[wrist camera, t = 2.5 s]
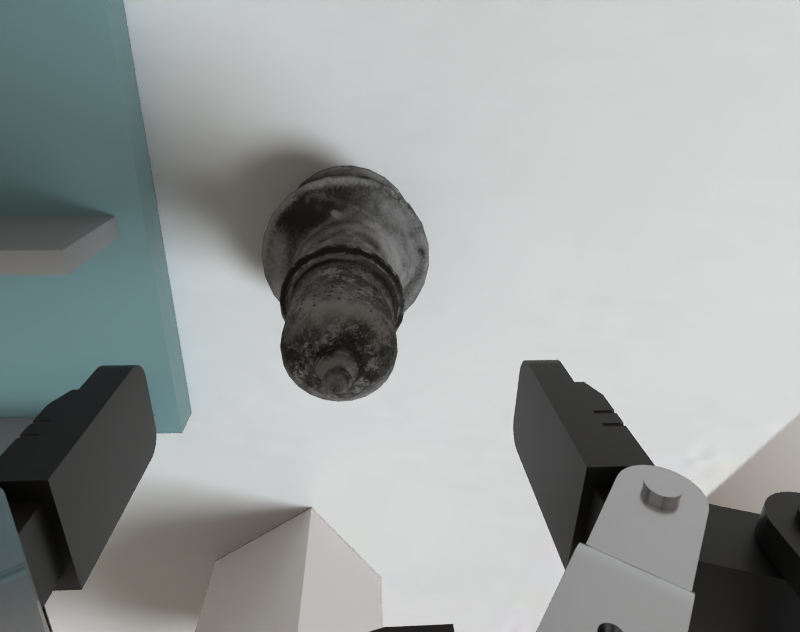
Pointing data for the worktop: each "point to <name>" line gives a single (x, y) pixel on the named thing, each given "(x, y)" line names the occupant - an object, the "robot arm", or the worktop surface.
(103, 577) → the worktop surface
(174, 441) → the worktop surface
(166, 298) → the rack
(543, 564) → the worktop surface
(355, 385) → the grey chess piece
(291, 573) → the soap dispenser
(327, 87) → the worktop surface
